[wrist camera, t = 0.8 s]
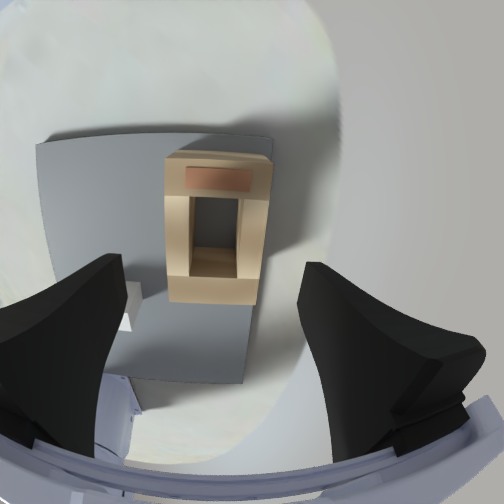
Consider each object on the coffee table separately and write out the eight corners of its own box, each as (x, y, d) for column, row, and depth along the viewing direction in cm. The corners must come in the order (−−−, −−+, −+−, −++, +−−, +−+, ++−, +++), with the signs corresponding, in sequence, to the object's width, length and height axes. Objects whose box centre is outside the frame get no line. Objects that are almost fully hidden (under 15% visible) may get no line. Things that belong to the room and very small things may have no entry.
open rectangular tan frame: (249, 272, 19) (255, 306, 16) (177, 269, 18) (168, 302, 15) (263, 154, 15) (274, 164, 12) (177, 149, 15) (164, 158, 11)
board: (241, 376, 26) (245, 412, 22) (92, 363, 24) (81, 396, 20) (270, 137, 16) (286, 144, 12) (43, 142, 14) (4, 154, 10)
